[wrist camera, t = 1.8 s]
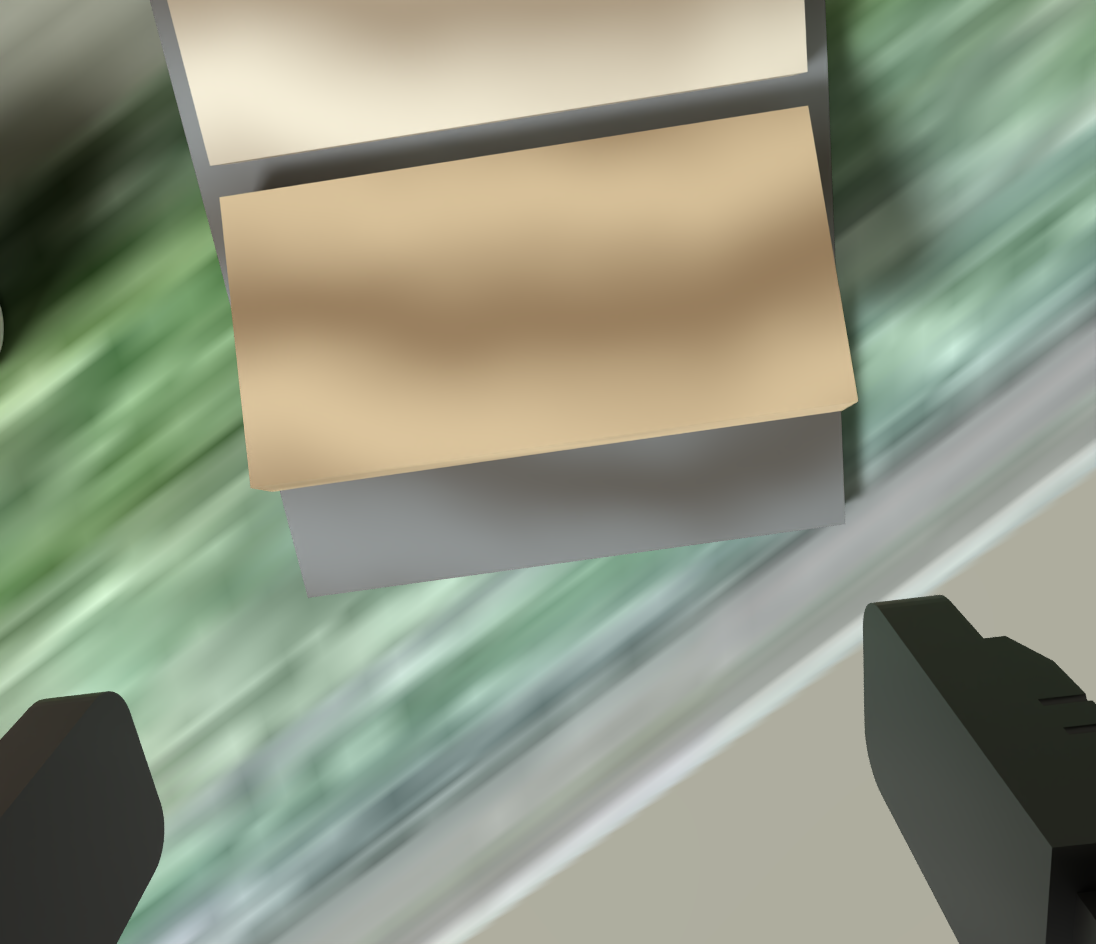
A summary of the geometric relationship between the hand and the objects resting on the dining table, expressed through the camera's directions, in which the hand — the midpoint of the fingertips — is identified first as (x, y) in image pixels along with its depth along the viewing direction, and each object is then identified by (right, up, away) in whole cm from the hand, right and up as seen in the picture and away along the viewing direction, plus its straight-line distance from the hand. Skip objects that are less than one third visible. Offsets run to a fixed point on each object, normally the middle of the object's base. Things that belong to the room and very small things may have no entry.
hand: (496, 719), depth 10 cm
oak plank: (0, +7, +16) cm, 18 cm away
